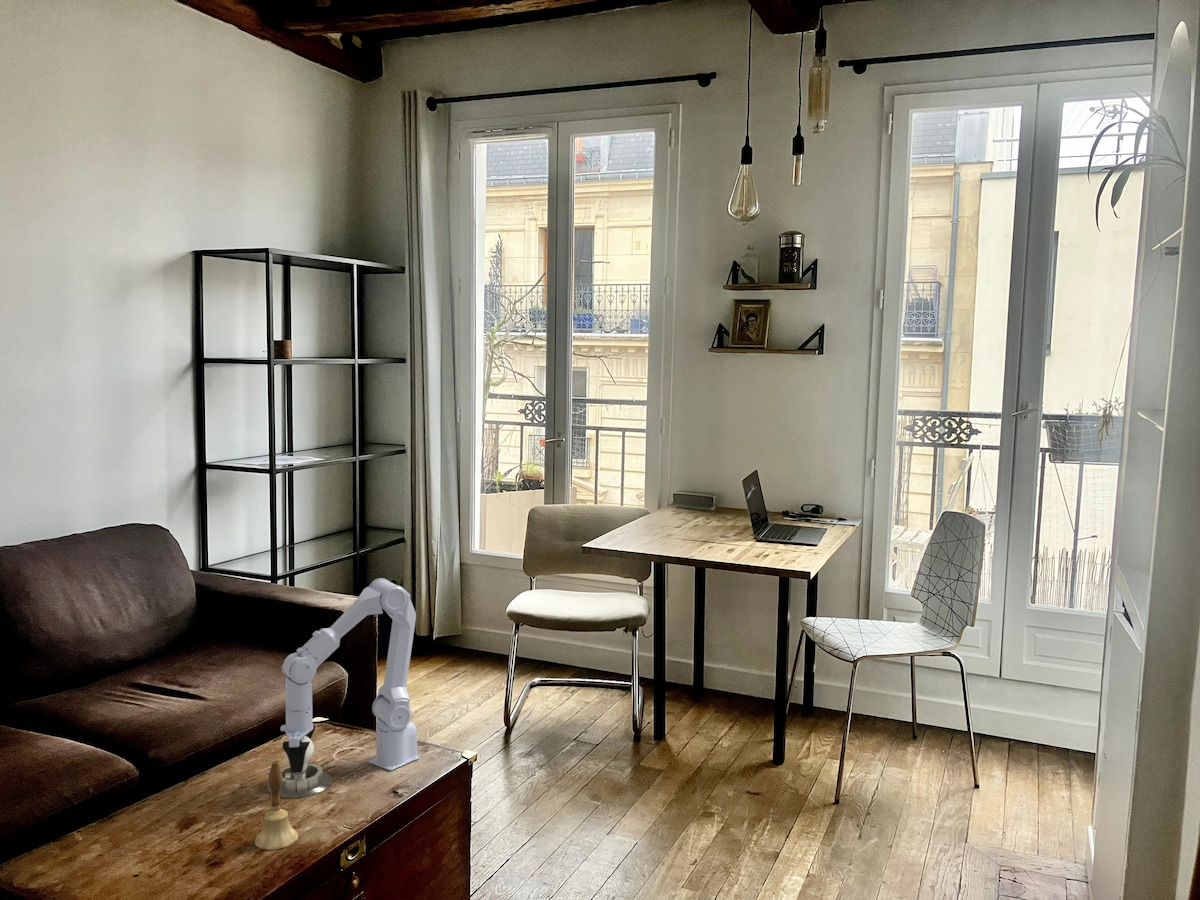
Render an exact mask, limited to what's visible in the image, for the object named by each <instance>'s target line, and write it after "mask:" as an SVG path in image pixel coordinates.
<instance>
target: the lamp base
mask: <svg viewBox="0 0 1200 900" xmlns="http://www.w3.org/2000/svg"><path fill="white" fill-rule="evenodd" d="M281 771H282V786H281V789H280V797H286V798H285V799H287V798H295V799H300V798H299V797H304V798H307V797H306V796H309V797H312V796H311V795H313V796H315V794H316V795H319V794H321V793H323V792H324V791H326V790H327V789H329V788H330V787H329V786H331V785H332V783H333V779H332V776H331V775H330V774H328V773H327V772H325V771H323V768H322V766H321V765H318V764H316V763H309V762H308V765H307V769H306V779H302V780H294V779H293V778H294V777H293V776H294V775H293V774H294V773H292V770H291V767H290V764H289V765H287V766H284V767H282V768H281ZM289 779H290V780H289ZM292 779H293V780H292ZM268 784H269V782H268V783H267V785H266V789H268V790H267V792H268V791H269V792H270V793H271V789H270V786H269V785H268ZM322 791H323V792H322ZM269 792H268V793H269ZM320 792H321V793H320ZM270 793H269V794H270ZM271 794H272V793H271ZM271 794H270V795H271Z"/></svg>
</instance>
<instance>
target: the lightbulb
mask: <svg viewBox="0 0 1200 900" xmlns="http://www.w3.org/2000/svg"><path fill="white" fill-rule="evenodd" d="M301 741H302V742H310V743H309V746H308V748H307V750H306V753H305V758H304V765H303V770H302V772H299V773H294V774H293V775H294V776H293V777H294V778H293V779H294V780H302V779H306V769H307V765H308V763H309V762H310V760H311V758H312V757H313V755H314V752H315V746H314V741H312V738H311V739H310V738H309V737H307V736H304V737H302V738H301ZM284 755H285V759H286V760H287V761H288V762H289V759H288V756H287V754H286V752H285V751H284Z"/></svg>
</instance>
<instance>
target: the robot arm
mask: <svg viewBox="0 0 1200 900" xmlns="http://www.w3.org/2000/svg"><path fill="white" fill-rule="evenodd" d="M383 611H385V612H386V614H387V615H388V616H389V617H390V618H391V619H392V622H391V630H390V636H389V644H388V650H387V657H386V658H387V659H386V665H385V673H384V680H383V684H382V685H381V686H380V687H379V688H378V689H377V690H378V691H377V696H376V698H375V699H374V701H373V703H372V705H371V706H372V707H371V710H372V714H373V715H374V716H375V718H376V723H375V727H376V728H375V729H376V735H375V736H376V743H375V746H376V749H375V750H376V756H375V757H373V758H371V759H368V763H369V764H372V765H375V766H376V767H379V768H382V769H384V770H387V771H394V770H396V769H399V768H401V767H403V766H404V765H405V766H406V765H407V764H409V763H412V762H414V761H416V760H419V759H420V755H418V730H417V726H416V725H415V723H414V722H413V721H411V719H412V710H411V707H410V702H411V698H410V695H409V692H408V690H407V684H408V683H407V682H408V678H409V677H408V676H409V675H408V674H409V670H410V663H411V655H412V648H413V642H414V633H415V628H416V621H417V620H416V619H417V614H416V610H415V608H414V605H413V603H412V599H411V594H410V593H409V592H408V591H407V590H406V589H405V588H403V586H401V585H397V584H395V583H393V582H391V581H389V580H388V579H386V578H384V577H383V578H382V577H381V578H376V579H374V580H373V581H372V582H371V583H370V584H369V586H367V587H365V588H363V590H362V592H361V593H360V594H359V596H358V597H357V599H355V601H354V602H353V603H352V604H351V605H350V606H349V607H348V608H346V610H345V611H344V612H343V613H342V615H340V617H339V618H338V619H336V621H335V622H333V624H332V625H331V626H330V627H327V628H320V629H319V630H315V631H314V632H313V633H312V634H311V635H312V637H311V638H310V639H308V641H307V642H306V643H304V645H302V646H301V647H298V648H297V649H296V652H293V653H290V654H289V655H287V657H286V658H285V659H284V660H283V663H282V665H281V666H280V669H281V671H282V674H283V675H284V676H286V677H285V690H284V691H285V724H282V725H281V726H280V731H281V732H285V733H286V736H287V737H288V740H285V741H283V742H282V749H283V752H284V753H285V752H286V754H287V756H288V759H289V761H288V763H289V765H290V767H291V770H292V773H299V772H302V770H303V765H304V758H305V753H306V750H307V748H308V746H309V743H310V742H302V741H301V738H302V737H304V736H307V737H309V738H310V739H311V740H312V736H313V734H314V732H315V730H316V725H315V724H314V723H313V682H312V681H313V680H314V678H315V677H316V674H317V669H318V668H319V667H320V665H322V664H323V663H324V662H325V660H327V659H328V658H329V657H330V656H331V655H332V654H333V653H334V652H335V651H336V650H337V649H338V648H340V643H341V638H343V636H345V635H346V634H347V633H348V632H349V631H351V630H352V629H353V628H354V627H356V625H357V624H359V623H360V622H361V621H362V620H363V619H365V618H366V617H367V616H371V615H372V616H373V615H382V614H383V613H384V612H383Z"/></svg>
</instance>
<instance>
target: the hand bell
mask: <svg viewBox="0 0 1200 900" xmlns="http://www.w3.org/2000/svg"><path fill="white" fill-rule="evenodd" d="M270 766H271V767H270V768H269V773H268V783H269V786H270V789H271V793H272V795H271V809H270V810H269V811H268V812H266V813H265V815H264V817H263V825H262V829H261V831H260V833H259V834H258V835H257V836H256V837H255V839H254V844H255V846H256V847H257V848H258V849H260V850H261V849H262V850H265V851H266V850H267V851H268V850H269V851H271V850H272V851H273V850H280V849H283V848H286V847H289V846H291V845H293V844H295V842H297V841H298V839H299V832H297V830H296V829H295V828H293V827H292V825H291V823H290V819H289V813H288V811H287V809H286V810H285V809H283V808H281V798H280V789H281V786H282V771H281V769H282V768H281V765H280V761H277V760H275V761H272V763H271V765H270Z"/></svg>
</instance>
